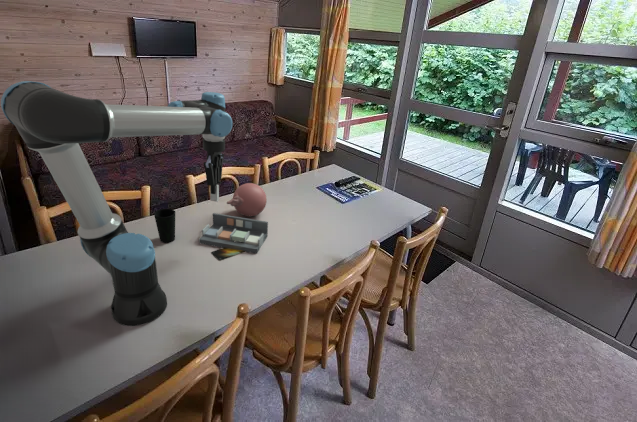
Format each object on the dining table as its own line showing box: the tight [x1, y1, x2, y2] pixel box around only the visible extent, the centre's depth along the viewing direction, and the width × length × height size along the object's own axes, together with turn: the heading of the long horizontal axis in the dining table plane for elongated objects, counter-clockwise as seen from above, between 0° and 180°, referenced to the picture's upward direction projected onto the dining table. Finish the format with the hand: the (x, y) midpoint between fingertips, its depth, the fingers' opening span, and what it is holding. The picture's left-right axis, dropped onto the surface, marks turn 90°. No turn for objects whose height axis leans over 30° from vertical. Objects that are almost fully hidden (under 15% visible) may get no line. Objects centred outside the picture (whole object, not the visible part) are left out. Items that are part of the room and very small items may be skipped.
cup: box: [153, 208, 176, 244], centre depth 143 cm, size 8×8×12 cm
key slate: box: [205, 227, 218, 238], centre depth 149 cm, size 5×5×2 cm
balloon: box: [226, 182, 267, 217], centre depth 166 cm, size 15×20×15 cm
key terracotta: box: [218, 231, 232, 240], centre depth 148 cm, size 5×5×2 cm
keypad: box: [198, 212, 269, 254], centre depth 148 cm, size 14×24×7 cm, turn 81°
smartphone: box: [210, 242, 247, 262], centre depth 142 cm, size 7×1×15 cm
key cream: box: [246, 235, 260, 245], centre depth 147 cm, size 5×5×2 cm
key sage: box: [232, 230, 247, 242], centre depth 147 cm, size 5×5×2 cm
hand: (214, 200), depth 136 cm, fingers closed
